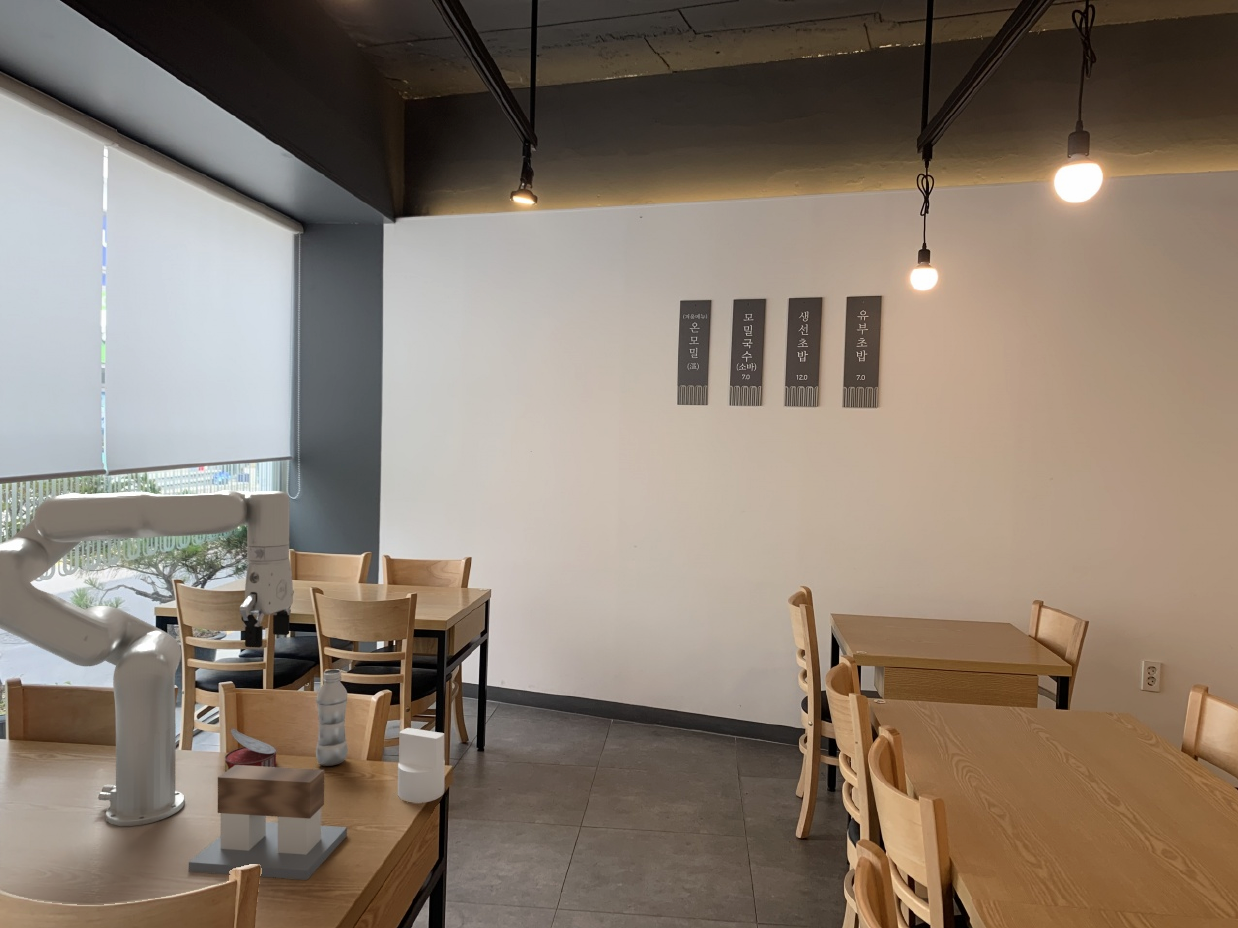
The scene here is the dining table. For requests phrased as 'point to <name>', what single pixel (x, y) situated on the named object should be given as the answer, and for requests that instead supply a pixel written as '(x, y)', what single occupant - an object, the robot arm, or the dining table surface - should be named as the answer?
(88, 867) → the dining table surface
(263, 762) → the canned food
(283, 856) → the board
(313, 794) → the beam
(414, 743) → the cylinder with rectangular tab
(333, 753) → the plastic bottle
